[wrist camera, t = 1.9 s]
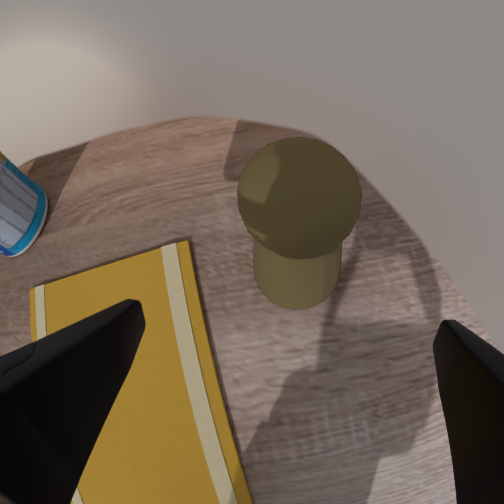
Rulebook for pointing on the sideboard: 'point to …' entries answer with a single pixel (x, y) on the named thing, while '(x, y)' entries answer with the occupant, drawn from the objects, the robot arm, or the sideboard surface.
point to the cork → (298, 218)
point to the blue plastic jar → (19, 209)
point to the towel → (153, 387)
